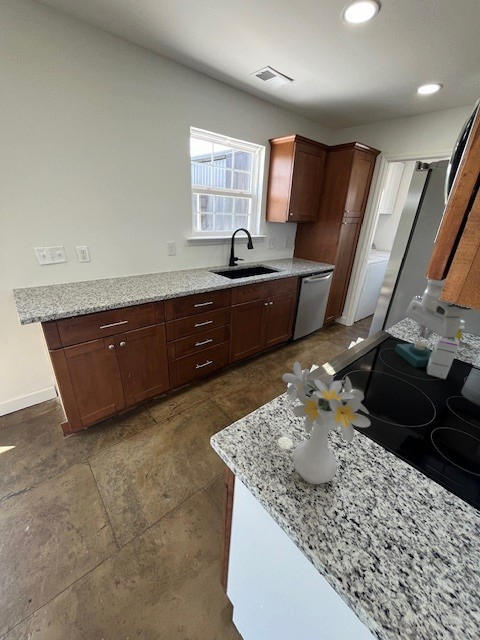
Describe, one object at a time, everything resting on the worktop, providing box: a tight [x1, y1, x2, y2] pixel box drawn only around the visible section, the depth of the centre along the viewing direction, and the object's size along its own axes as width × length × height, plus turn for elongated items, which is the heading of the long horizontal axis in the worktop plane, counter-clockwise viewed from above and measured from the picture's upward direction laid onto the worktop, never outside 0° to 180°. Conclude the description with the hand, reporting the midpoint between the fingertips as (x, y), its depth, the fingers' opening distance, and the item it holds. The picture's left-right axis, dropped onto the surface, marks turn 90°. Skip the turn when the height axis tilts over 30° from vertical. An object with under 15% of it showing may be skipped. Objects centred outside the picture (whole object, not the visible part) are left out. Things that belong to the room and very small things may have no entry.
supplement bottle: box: [456, 319, 466, 342], centre depth 119 cm, size 5×5×10 cm
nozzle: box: [414, 341, 427, 350], centre depth 103 cm, size 4×4×2 cm
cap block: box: [394, 342, 432, 368], centre depth 104 cm, size 12×10×5 cm
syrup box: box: [426, 334, 460, 380], centre depth 93 cm, size 6×6×14 cm
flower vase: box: [281, 361, 371, 485], centre depth 54 cm, size 13×18×25 cm
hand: (423, 337), depth 100 cm, fingers closed
